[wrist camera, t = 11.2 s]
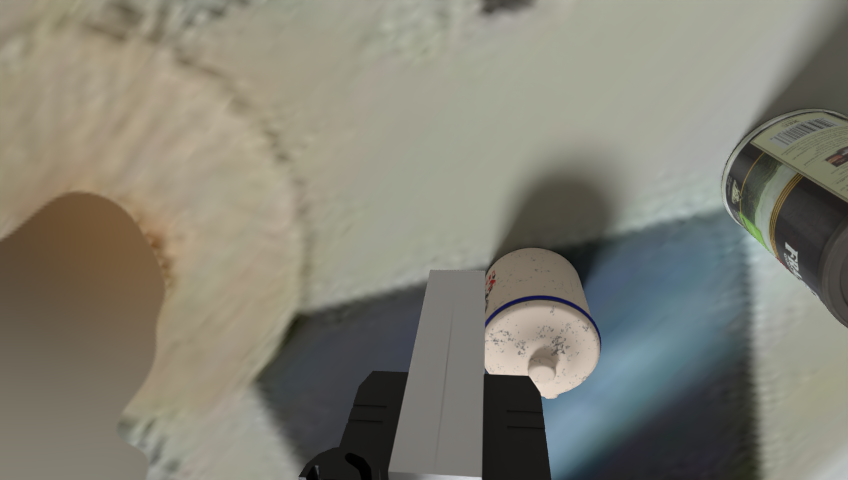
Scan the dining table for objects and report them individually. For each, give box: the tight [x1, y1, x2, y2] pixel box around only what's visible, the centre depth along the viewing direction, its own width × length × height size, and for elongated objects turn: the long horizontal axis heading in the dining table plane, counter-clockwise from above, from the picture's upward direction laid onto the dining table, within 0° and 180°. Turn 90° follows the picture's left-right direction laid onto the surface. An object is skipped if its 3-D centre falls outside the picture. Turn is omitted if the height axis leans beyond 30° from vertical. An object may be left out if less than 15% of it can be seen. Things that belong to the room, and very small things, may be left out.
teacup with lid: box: [485, 248, 601, 399], centre depth 42 cm, size 12×9×12 cm
